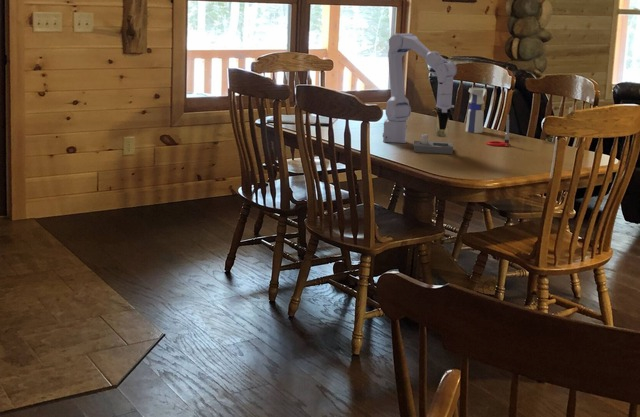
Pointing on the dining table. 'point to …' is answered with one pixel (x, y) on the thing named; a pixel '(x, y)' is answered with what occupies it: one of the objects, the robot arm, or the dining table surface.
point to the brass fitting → (441, 132)
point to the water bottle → (476, 109)
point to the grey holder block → (432, 146)
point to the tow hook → (505, 137)
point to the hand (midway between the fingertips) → (442, 128)
